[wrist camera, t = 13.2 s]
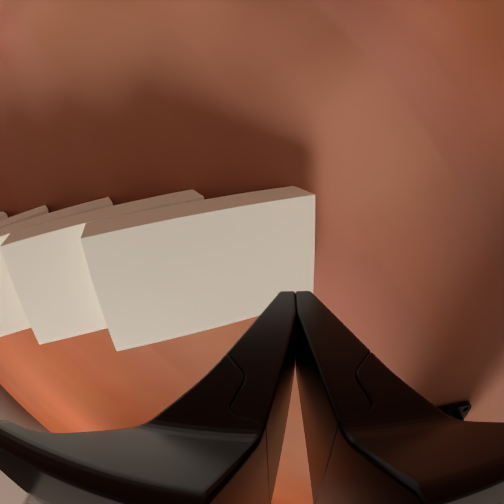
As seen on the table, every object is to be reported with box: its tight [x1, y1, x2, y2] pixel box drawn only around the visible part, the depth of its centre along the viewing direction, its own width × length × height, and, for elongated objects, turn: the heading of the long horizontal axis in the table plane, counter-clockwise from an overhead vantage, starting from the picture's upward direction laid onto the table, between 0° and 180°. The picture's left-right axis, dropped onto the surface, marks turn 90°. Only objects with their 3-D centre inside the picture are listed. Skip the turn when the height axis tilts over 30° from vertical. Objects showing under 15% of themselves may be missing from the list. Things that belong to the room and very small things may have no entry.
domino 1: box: [80, 186, 315, 351], centre depth 11 cm, size 2×4×8 cm
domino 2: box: [0, 189, 204, 345], centre depth 12 cm, size 2×4×8 cm
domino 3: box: [0, 197, 113, 337], centre depth 12 cm, size 2×4×8 cm
